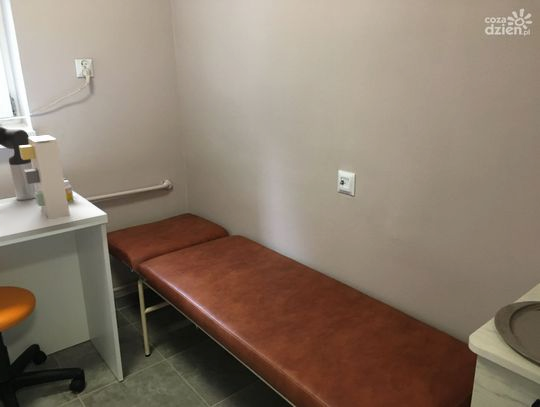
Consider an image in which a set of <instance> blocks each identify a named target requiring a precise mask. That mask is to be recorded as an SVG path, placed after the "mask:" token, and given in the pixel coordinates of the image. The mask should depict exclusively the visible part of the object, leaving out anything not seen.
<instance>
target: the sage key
mask: <svg viewBox="0 0 540 407" xmlns="http://www.w3.org/2000/svg"><path fill="white" fill-rule="evenodd" d="M35 197H36V198H35V200H36V204H37V206H38V207H41V206H44V205H45V204H44V199H43V194H42V192H41V191H38V190H37V192H35Z"/></svg>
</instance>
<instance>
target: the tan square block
mask: <svg viewBox="0 0 540 407" xmlns="http://www.w3.org/2000/svg"><path fill="white" fill-rule="evenodd" d="M19 149H20V154H21V158H22V159H23V160H27V159H31V160H32V159H35V158H36V157H35V152H34V147H33V145H22V146H19Z"/></svg>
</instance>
